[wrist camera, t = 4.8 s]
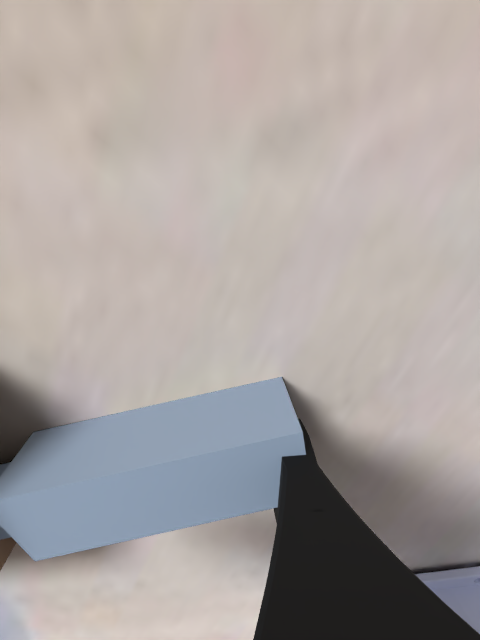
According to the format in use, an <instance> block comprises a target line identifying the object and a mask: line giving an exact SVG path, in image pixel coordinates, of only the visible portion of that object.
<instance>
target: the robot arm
mask: <svg viewBox="0 0 480 640" xmlns="http://www.w3.org/2000/svg"><path fill="white" fill-rule="evenodd" d="M298 421H299V423H300V426H301V429H302V431H303V437H304V444H305V451H306V455H296V456H282V461H281V473H280V485H279V497H278V507H277V508H274V513H275V517H276V522H277V528H276V535H275V541H274V546H273V552H272V557H271V562H270V568H269V573H268V578H267V582H266V587H265V592H264V596H263V600H262V605H261V609H260V613H259V618H258V622H257V626H256V631H255V635H254V639H253V640H480V566H478V567H470V568H462V569H453V570H445V571H437V572H429V573H420V574H414V573H413V572H412V571H411V570H410V569H409V568H408V567H407V566H406V565H404V564H403V563H402V562H401V561H400V560H399V559H398V558H397V557H396V556H395V555H394V554H393V553H392V551H391V550H390V549H389V548H388V547H387V546H386V545H385V544H384V543H383V542H382V541H381V540H380V539H379V538H378V537H377V536H376V535H375V534H374V533H373V531H372V530H371V529H370V528H369V527H368V526H367V525H366V524H365V523H364V522H363V521H362V519H361V518H360V517H359V516H358V515H357V514H356V513H355V511H354V510H353V509H352V508H351V507H350V506H349V504H348V503H347V502H346V501H345V500H344V498H343V497H342V496H341V495H340V493H339V492H338V491H337V490H336V488H335V487H334V486H333V485H332V483H331V482H330V481H329V479H328V478H327V477H326V476H325V474H324V473H323V471H322V470H321V469H320V467H319V466H318V464H317V461H316V457H315V454H314V451H313V448H312V444H311V441H310V438H309V435H308V433H307V431H306V429H305V427H304V425H303V424H302V422H301V420H300V419H298Z"/></svg>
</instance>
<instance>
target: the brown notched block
mask: <svg viewBox="0 0 480 640" xmlns="http://www.w3.org/2000/svg"><path fill="white" fill-rule="evenodd" d="M15 544H16V541H15V540H14V539H13V538H12V537H10V538H6V539H1V540H0V570H1V569H2V567H3V565H4V563H5V562H6V560H7V558H8V556H9V554H10V553H11V551H12V549H13V547H14V546H15Z"/></svg>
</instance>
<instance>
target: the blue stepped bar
mask: <svg viewBox="0 0 480 640" xmlns="http://www.w3.org/2000/svg"><path fill="white" fill-rule="evenodd" d="M296 455H306V451H305V444H304V437H303V431H302V429H301V426H300V423H299V421H298V418H297V416H296V413H295V410H294V408H293V405H292V402H291V400H290V397H289V394H288V392H287V389H286V387H285V384H284V381H283V379H282V377H278V378H274V379H269V380H265V381H260V382H256V383H251V384H247V385H242V386H238V387H233V388H229V389H224V390H220V391H215V392H211V393H206V394H202V395H197V396H193V397H188V398H184V399H179V400H175V401H170V402H166V403H161V404H157V405H152V406H148V407H143V408H139V409H134V410H130V411H125V412H121V413H116V414H112V415H108V416H103V417H99V418H94V419H90V420H85V421H81V422H76V423H72V424H67V425H63V426H58V427H54V428H49V429H45V430H40V431H36V432H33V433H32V435H31V436H30V437H29V439H28V440H27V441H26V443H25V444H24V445H23V447H22V448H21V449H20V451H19V452H18V454H17V455H16V456H15V458H14V459H13V460H12V462H10V463H6V464H1V465H0V540H1V539H6V538H10V537H12V538H13V539H14V540H15V541H16V542H17V543H18V544H19V545H20V546H21V547H22V549H23V550H24V551H25V552H26V553H27V554H28V555H29V556H30V557H31V558H32V559H33V560H34V561H39V560H43V559H48V558H52V557H57V556H61V555H66V554H70V553H75V552H79V551H84V550H88V549H93V548H97V547H102V546H106V545H111V544H115V543H120V542H124V541H128V540H133V539H137V538H142V537H146V536H151V535H155V534H160V533H164V532H169V531H173V530H178V529H182V528H187V527H191V526H196V525H200V524H205V523H209V522H214V521H218V520H223V519H227V518H232V517H236V516H241V515H245V514H250V513H254V512H259V511H263V510H268V509H272V508H277V507H278V497H279V485H280V473H281V461H282V456H296Z"/></svg>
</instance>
